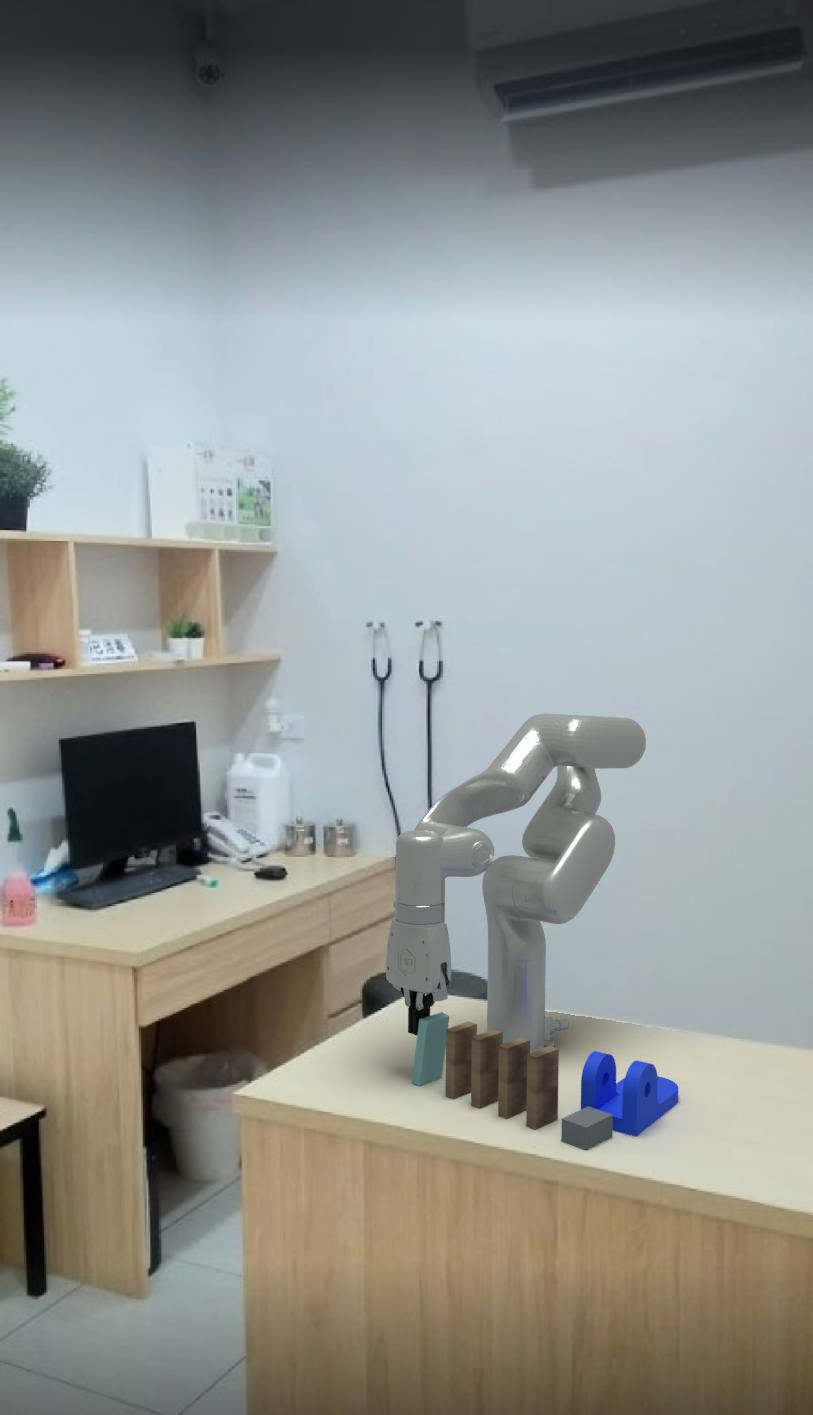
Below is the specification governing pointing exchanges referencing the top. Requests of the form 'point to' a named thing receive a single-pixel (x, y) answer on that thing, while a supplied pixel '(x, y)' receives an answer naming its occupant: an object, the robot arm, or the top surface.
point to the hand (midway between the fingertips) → (419, 1032)
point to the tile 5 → (542, 1087)
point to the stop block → (587, 1128)
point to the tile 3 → (485, 1068)
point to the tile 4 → (513, 1077)
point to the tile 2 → (459, 1059)
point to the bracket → (626, 1093)
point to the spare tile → (430, 1049)
